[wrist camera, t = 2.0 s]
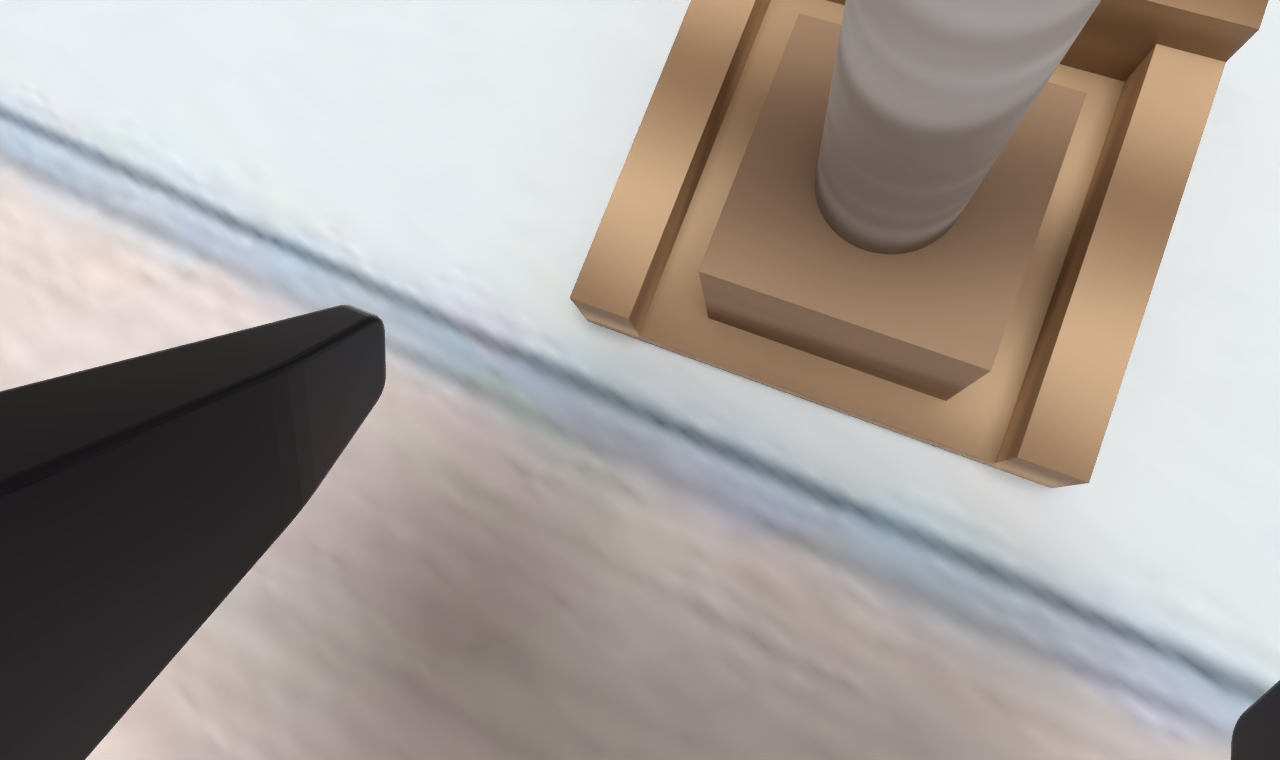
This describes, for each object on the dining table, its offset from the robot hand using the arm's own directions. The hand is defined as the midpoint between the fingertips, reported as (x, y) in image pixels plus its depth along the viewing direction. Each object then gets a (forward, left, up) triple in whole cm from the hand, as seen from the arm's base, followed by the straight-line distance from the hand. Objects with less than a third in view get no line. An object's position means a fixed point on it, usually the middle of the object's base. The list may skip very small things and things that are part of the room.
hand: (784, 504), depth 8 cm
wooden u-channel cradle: (+5, +7, -13) cm, 16 cm away
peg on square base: (+4, +6, -12) cm, 14 cm away
